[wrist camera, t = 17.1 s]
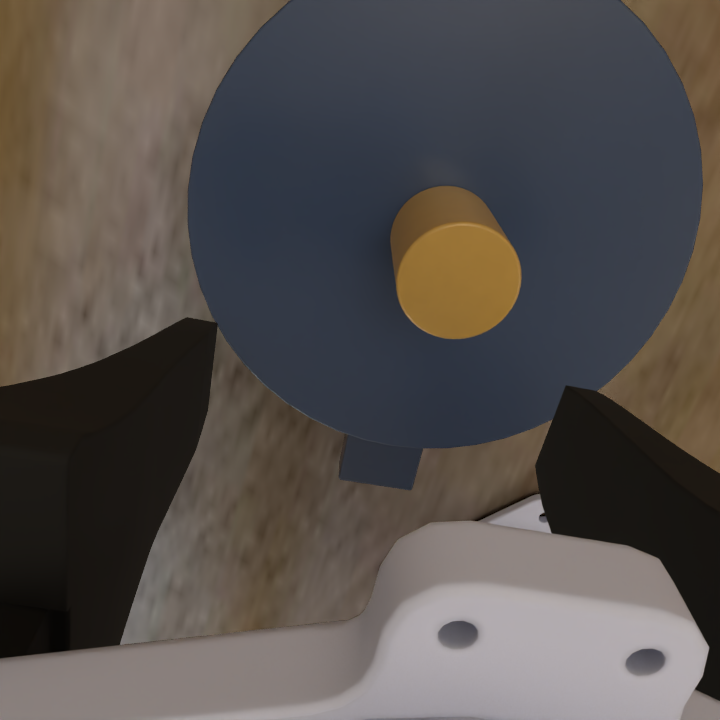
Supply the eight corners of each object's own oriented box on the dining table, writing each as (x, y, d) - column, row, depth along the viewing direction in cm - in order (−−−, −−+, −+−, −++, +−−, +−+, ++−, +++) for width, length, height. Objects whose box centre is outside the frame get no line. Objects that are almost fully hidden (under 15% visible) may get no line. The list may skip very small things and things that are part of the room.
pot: (703, -83, 19) (819, -114, 14) (522, 433, 27) (558, 527, 22) (278, -182, 18) (247, -250, 13) (217, 384, 26) (184, 471, 21)
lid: (771, 9, 16) (903, 10, 12) (588, 457, 21) (638, 555, 18) (220, -112, 15) (170, -155, 11) (180, 392, 20) (138, 481, 17)
